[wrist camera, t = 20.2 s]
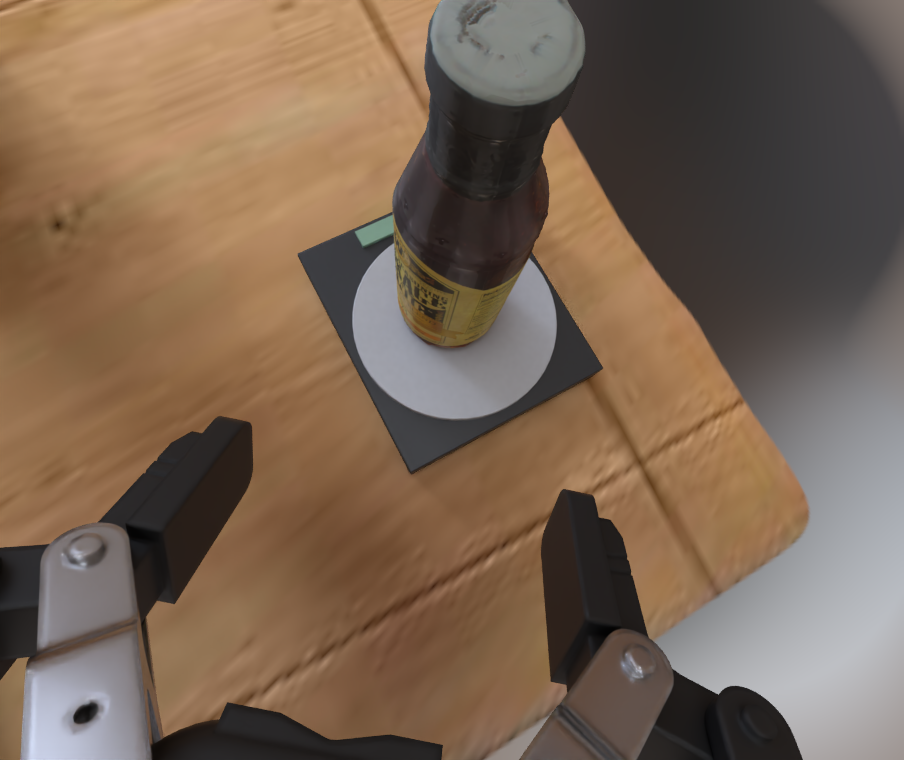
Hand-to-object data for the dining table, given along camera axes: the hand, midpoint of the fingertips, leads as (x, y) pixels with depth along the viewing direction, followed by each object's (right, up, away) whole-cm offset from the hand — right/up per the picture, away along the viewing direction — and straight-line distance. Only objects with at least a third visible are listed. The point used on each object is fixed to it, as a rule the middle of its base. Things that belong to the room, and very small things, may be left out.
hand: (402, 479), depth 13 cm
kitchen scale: (+1, +7, +22) cm, 23 cm away
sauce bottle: (+1, +7, +19) cm, 20 cm away
